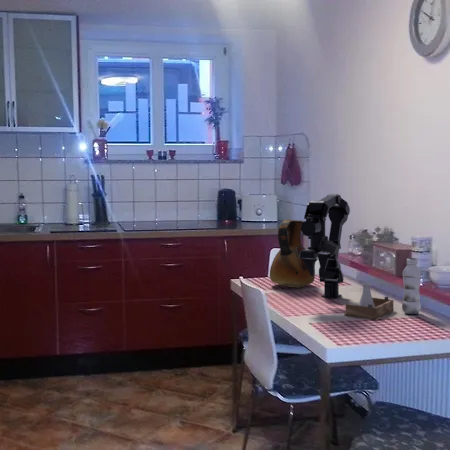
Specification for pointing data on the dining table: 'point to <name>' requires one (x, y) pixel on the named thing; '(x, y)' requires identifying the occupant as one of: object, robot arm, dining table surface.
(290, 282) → the ceramic pitcher
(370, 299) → the flask
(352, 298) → the dining table surface
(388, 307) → the holder
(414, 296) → the plastic bottle
